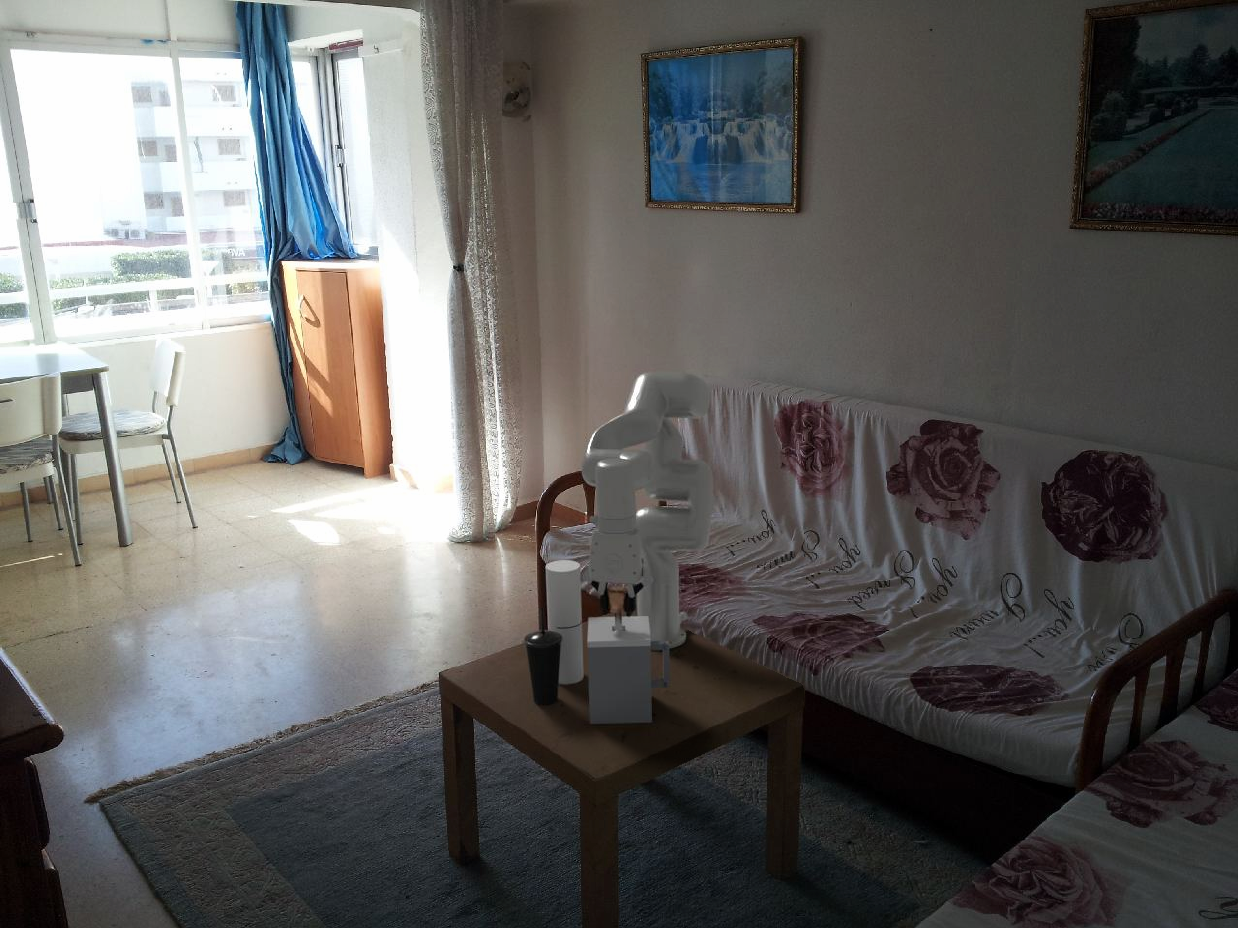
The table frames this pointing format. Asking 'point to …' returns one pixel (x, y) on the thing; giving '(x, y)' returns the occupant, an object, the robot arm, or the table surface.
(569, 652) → the cylindrical container
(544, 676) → the drinking cup
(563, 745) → the table surface
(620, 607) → the copper piston
